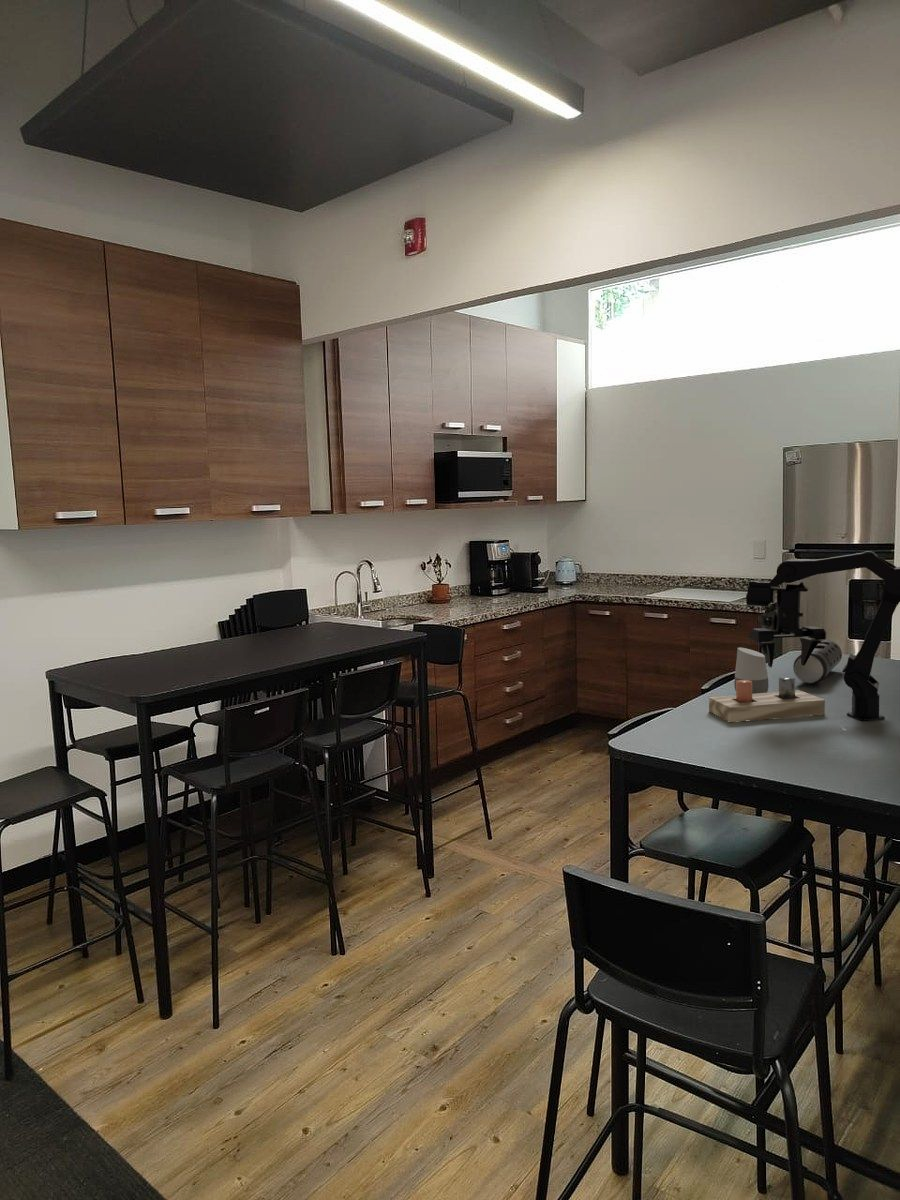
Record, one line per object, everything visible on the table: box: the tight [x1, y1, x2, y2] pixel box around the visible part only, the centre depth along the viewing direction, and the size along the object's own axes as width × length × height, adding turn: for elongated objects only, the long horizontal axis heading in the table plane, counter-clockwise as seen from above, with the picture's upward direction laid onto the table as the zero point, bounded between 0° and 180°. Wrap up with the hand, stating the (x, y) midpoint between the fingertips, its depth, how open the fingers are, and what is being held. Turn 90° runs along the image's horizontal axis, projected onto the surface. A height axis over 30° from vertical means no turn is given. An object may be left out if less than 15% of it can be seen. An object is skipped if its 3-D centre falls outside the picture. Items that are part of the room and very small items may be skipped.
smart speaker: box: [734, 647, 769, 694], centre depth 234 cm, size 10×9×14 cm
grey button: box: [778, 676, 796, 700], centre depth 215 cm, size 4×4×6 cm
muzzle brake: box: [793, 639, 843, 685], centre depth 253 cm, size 10×28×10 cm, turn 145°
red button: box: [735, 680, 752, 703], centre depth 214 cm, size 4×4×6 cm
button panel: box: [708, 689, 826, 723], centre depth 215 cm, size 12×26×4 cm, turn 98°
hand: (786, 666), depth 215 cm, fingers open, 9 cm apart
